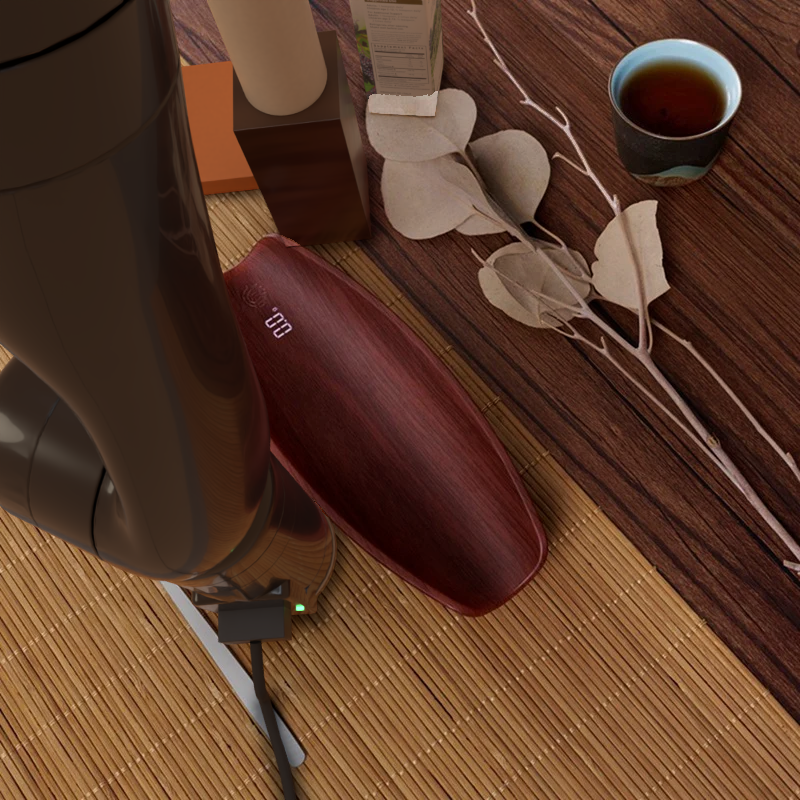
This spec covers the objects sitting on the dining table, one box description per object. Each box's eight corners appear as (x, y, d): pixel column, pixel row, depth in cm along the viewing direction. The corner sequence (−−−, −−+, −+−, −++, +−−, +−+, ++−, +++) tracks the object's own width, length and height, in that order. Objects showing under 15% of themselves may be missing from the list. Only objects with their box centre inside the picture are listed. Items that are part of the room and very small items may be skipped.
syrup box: (379, 59, 79) (355, -77, 66) (447, 62, 79) (437, -74, 65) (369, 115, 78) (342, -12, 64) (438, 119, 77) (426, -8, 63)
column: (371, 239, 74) (340, 118, 59) (285, 247, 75) (232, 131, 59) (367, 163, 76) (335, 29, 61) (283, 172, 77) (232, 42, 62)
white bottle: (328, 110, 59) (289, -31, 48) (243, 120, 60) (184, -17, 48) (325, 39, 61) (287, -113, 50) (242, 49, 61) (185, -100, 50)
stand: (275, 187, 76) (270, 174, 75) (139, 202, 77) (130, 189, 75) (273, 71, 80) (267, 55, 78) (143, 86, 81) (134, 71, 79)
